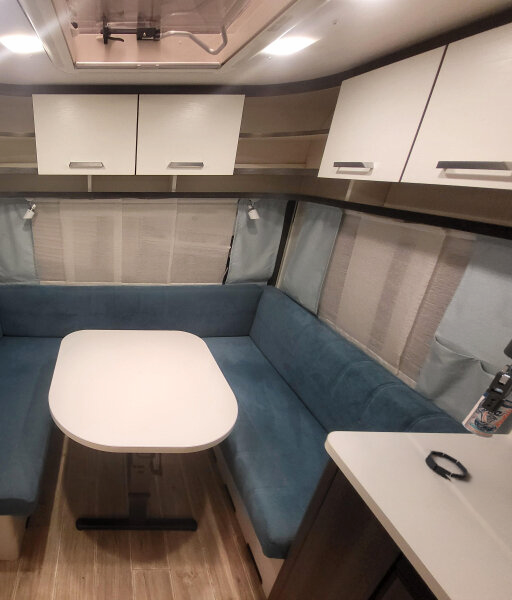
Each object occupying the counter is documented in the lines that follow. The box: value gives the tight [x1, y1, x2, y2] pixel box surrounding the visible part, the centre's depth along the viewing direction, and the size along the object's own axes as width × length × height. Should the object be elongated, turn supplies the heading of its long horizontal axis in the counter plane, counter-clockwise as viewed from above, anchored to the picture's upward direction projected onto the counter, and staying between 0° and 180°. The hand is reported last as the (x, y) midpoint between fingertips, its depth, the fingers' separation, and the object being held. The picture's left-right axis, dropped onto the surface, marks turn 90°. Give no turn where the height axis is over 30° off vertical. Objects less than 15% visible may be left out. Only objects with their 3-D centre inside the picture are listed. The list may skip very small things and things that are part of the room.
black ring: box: [425, 450, 469, 481], centre depth 77 cm, size 7×7×2 cm
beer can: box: [461, 386, 512, 439], centre depth 68 cm, size 5×5×12 cm
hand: (494, 406), depth 67 cm, fingers closed on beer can, 4 cm apart
